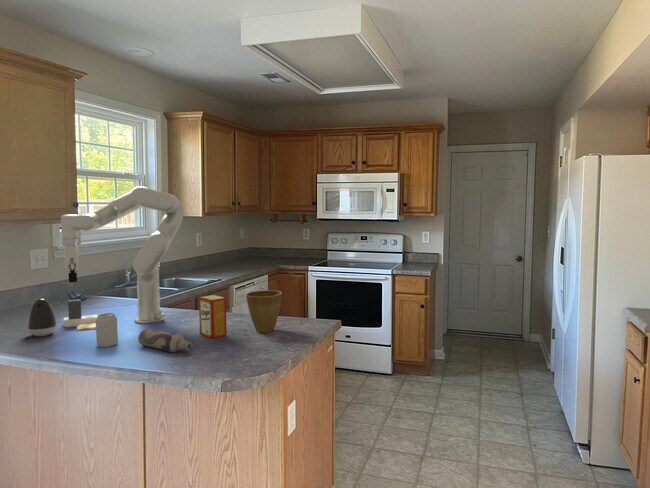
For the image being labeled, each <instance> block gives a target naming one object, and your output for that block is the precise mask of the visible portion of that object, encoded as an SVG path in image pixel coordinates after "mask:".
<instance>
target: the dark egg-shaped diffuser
mask: <svg viewBox="0 0 650 488" xmlns="http://www.w3.org/2000/svg"><path fill="white" fill-rule="evenodd" d="M27 318H28V320H27V329H28V330H29V333H30V335H33V336H35V337H47V336H49V335H51V334H52V333H53V332H54V330H55V329H56V326H57V321H56V316H55V313H54V311H53V307H52V306H51V303H50V302H49V301H48V300H47V299H45V298H38V299H36V300H35V301H34V302H33V303H32V304H31V308H30V310H29V313H28V317H27Z"/></svg>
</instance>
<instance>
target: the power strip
mask: <svg viewBox="0 0 650 488" xmlns="http://www.w3.org/2000/svg"><path fill="white" fill-rule="evenodd" d="M103 313H104V312H101V313H99V314H103ZM99 314H90V315H81V318H80V319H70V320H69V316H68V317H63V328H69V327H77V325H83V324H92V323H96V318H97V317H98V316H97V315H99Z"/></svg>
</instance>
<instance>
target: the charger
mask: <svg viewBox="0 0 650 488" xmlns="http://www.w3.org/2000/svg"><path fill="white" fill-rule="evenodd" d="M67 306H68V307H67V309H68V310H67V311H68V317H69V320H70V319H80V318H81V316H82V302H81V299H80V298H79V299H69V300H67Z"/></svg>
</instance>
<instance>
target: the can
mask: <svg viewBox="0 0 650 488" xmlns="http://www.w3.org/2000/svg"><path fill="white" fill-rule="evenodd" d="M102 313H103V314H101V313H99V315H98V314H96V315H97V316H98V317H97V318H96V329H95V334H96V335H95V336H96V337H95V338H96V345H97V346H98V347H100V348H110V347H111V348H112V347H115V346H116V345H117V343H119V337H118V336H119V334H118V332H119V331H118V317H117V316H116V314H115V313H113V312H102Z"/></svg>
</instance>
